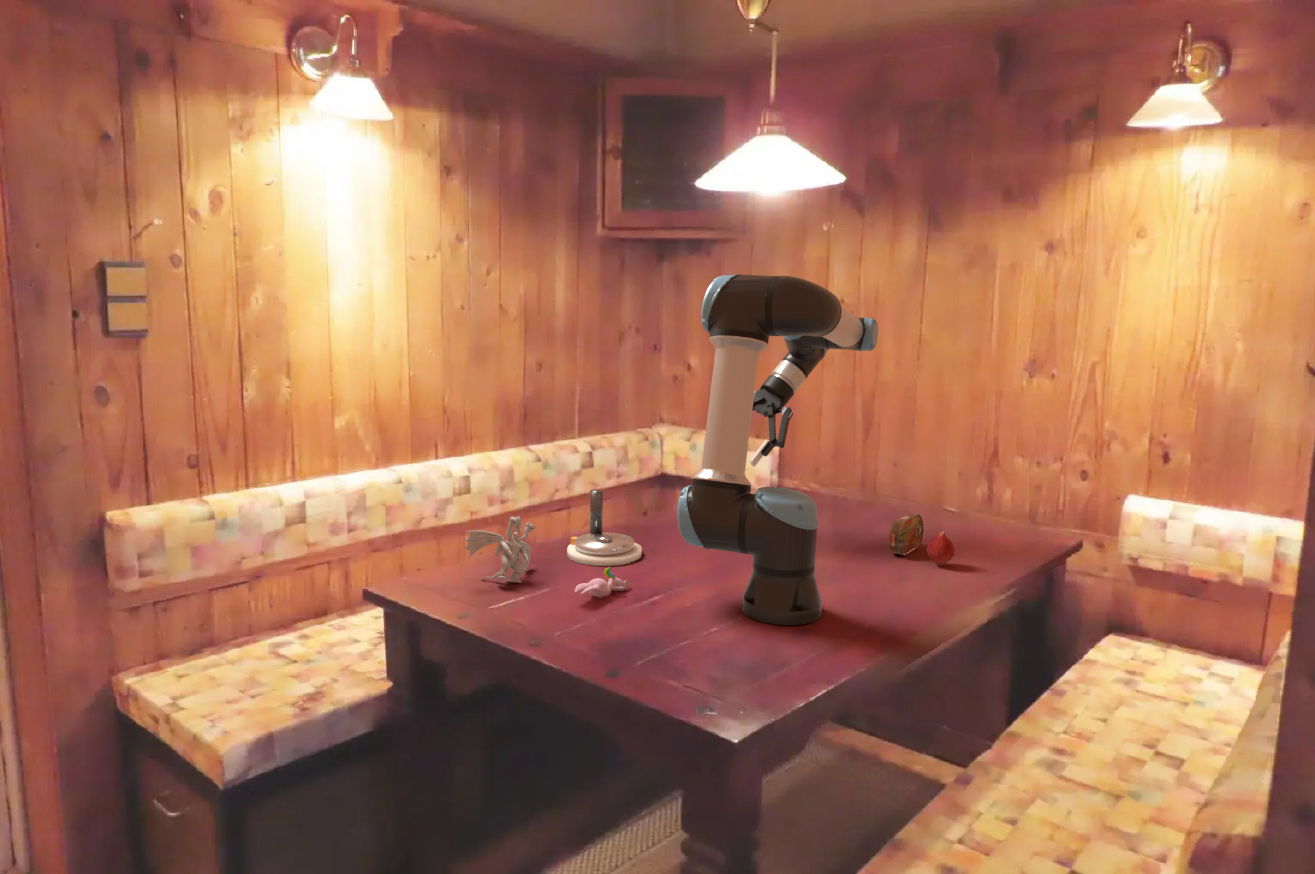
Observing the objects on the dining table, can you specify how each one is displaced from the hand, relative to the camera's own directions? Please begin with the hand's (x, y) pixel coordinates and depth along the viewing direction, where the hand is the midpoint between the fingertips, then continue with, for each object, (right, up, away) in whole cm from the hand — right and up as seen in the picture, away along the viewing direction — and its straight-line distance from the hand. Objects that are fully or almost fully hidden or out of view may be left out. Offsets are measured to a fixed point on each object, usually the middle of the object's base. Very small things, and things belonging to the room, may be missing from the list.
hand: (729, 450), depth 219 cm
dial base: (-29, -24, -10) cm, 39 cm away
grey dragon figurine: (-48, -27, -28) cm, 62 cm away
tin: (+41, -24, -2) cm, 48 cm away
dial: (-30, -22, -10) cm, 38 cm away
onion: (+46, -26, -13) cm, 55 cm away
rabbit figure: (-28, -29, -37) cm, 55 cm away
